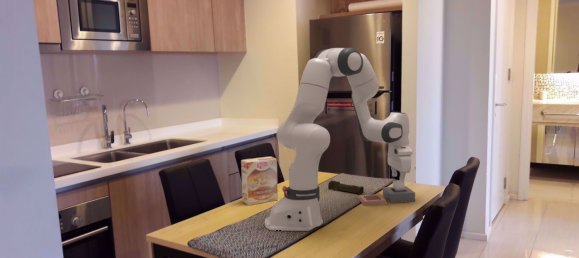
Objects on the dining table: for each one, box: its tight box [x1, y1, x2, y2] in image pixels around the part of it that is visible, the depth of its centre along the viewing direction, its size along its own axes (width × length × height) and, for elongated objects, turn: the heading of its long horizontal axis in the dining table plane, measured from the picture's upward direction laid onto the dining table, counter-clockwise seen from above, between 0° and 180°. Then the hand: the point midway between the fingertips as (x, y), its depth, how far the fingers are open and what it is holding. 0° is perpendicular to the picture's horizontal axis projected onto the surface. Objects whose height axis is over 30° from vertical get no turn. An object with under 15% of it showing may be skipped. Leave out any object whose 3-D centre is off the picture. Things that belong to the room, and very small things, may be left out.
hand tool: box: [327, 180, 365, 195], centre depth 212 cm, size 19×4×5 cm, turn 50°
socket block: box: [382, 185, 416, 204], centre depth 197 cm, size 11×11×4 cm
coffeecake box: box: [240, 155, 279, 206], centre depth 199 cm, size 15×7×20 cm, turn 118°
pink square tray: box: [358, 193, 387, 207], centre depth 193 cm, size 10×10×2 cm
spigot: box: [392, 179, 406, 192], centre depth 197 cm, size 4×4×8 cm
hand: (398, 178), depth 196 cm, fingers open, 8 cm apart
